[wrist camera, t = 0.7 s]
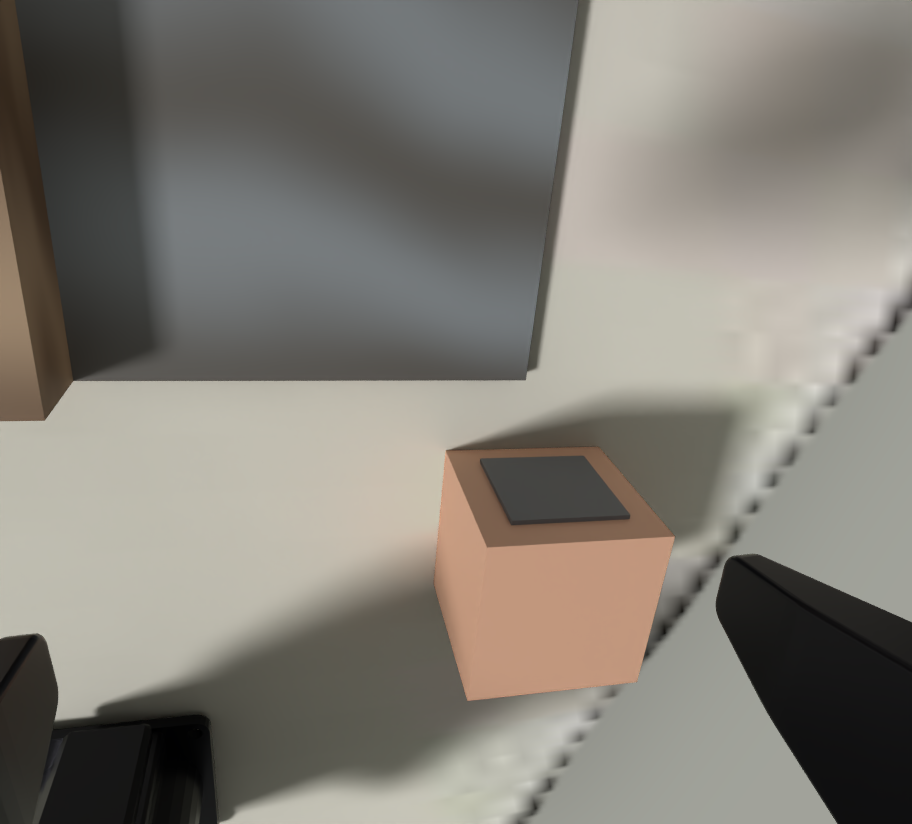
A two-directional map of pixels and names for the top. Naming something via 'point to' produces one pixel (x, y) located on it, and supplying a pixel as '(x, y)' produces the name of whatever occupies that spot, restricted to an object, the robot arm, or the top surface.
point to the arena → (273, 189)
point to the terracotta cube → (546, 570)
